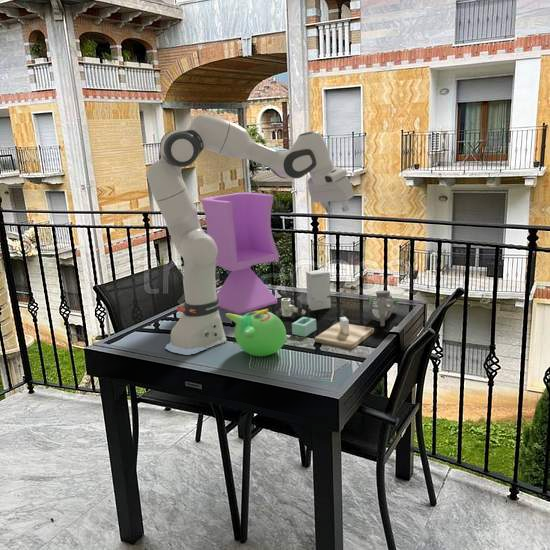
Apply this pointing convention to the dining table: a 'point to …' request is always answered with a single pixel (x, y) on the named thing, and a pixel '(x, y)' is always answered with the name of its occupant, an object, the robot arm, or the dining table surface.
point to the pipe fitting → (374, 312)
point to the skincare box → (318, 289)
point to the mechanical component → (382, 306)
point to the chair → (242, 247)
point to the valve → (293, 308)
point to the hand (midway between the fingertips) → (337, 211)
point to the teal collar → (304, 326)
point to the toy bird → (259, 332)
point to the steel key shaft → (344, 325)
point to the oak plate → (344, 336)
